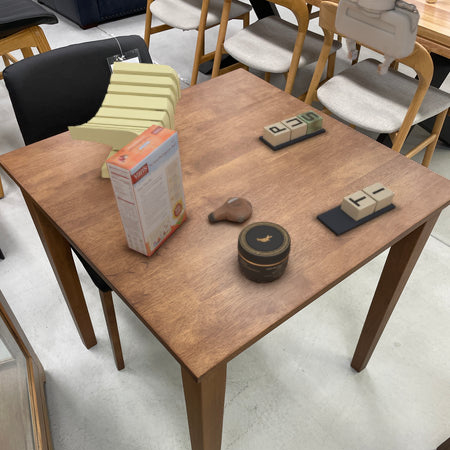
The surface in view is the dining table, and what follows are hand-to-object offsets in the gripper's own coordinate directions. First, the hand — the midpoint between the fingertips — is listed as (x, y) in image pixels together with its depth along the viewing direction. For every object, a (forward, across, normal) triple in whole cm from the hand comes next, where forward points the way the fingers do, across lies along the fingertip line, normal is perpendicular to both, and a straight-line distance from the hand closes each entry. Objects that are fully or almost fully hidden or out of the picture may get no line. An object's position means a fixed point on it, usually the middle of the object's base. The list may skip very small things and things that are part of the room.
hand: (366, 66), depth 98 cm
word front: (+20, -21, +17) cm, 33 cm away
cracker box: (+19, -3, +57) cm, 60 cm away
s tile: (+19, +12, +4) cm, 23 cm away
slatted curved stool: (+19, +22, +49) cm, 57 cm away
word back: (+20, +12, +9) cm, 25 cm away
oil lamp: (+20, -7, +41) cm, 46 cm away
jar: (+20, -23, +44) cm, 53 cm away
